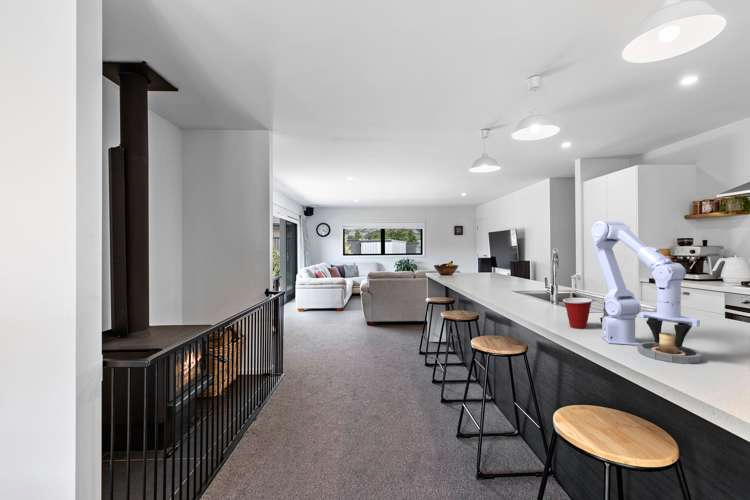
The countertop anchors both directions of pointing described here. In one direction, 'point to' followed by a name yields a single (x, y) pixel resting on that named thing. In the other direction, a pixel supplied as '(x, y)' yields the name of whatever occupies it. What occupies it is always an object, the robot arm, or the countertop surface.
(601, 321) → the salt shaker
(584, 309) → the plastic cup
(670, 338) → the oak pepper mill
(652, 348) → the round tray
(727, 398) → the countertop surface
